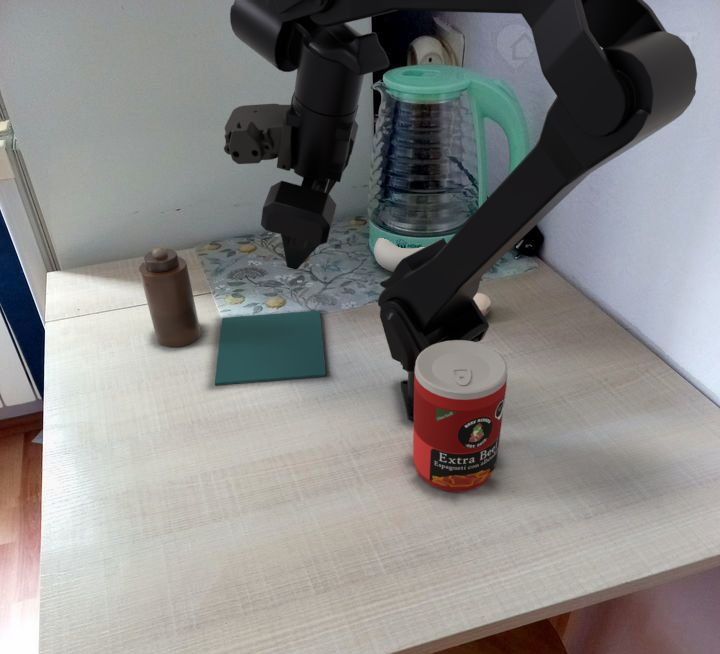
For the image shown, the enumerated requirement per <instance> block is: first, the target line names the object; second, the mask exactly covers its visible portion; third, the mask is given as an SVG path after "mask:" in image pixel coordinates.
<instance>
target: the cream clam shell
mask: <svg viewBox="0 0 720 654" xmlns="http://www.w3.org/2000/svg"><path fill="white" fill-rule="evenodd" d="M473 299H474V301H475V302H476V304H477V306H478V307H479V309H480V311H481V312H482V314H483V315H484V317H486V315H487V314H489V312H490V310H491V306H490V305H491V302H492V301H491V298H489V296H488V295H486V294H485V293H480V292H477V293H476V295H475V296H474V298H473Z"/></svg>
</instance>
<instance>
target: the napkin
mask: <svg viewBox="0 0 720 654" xmlns="http://www.w3.org/2000/svg"><path fill="white" fill-rule="evenodd" d="M326 372H327V371H326V362H325V352H324V342H323V330H322V318H321V311H320V310H309V311H308V310H307V311H295V312H294V311H293V312H283V313H267V314H256V315H255V314H254V315H242V316H241V315H240V316H228V317H227V316H226V317H222V318H221V324H220V333H219V341H218V352H217V360H216V368H215V377H214V386H222V385H234V384H247V383H259V382H270V381H271V382H272V381H273V382H274V381H283V380H284V381H285V380H297V379H310V378H320V377H322V378H323V377H326V376H327V374H326Z"/></svg>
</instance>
